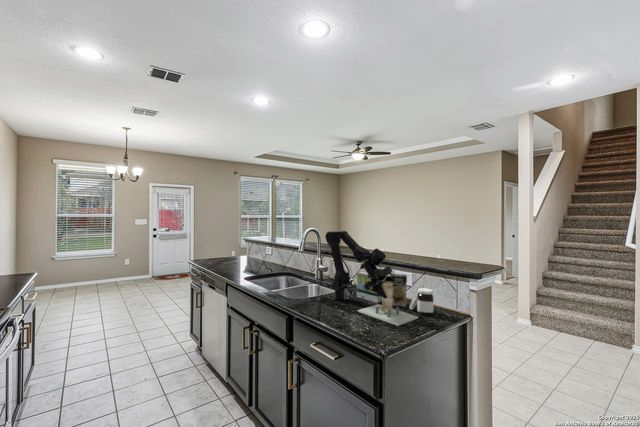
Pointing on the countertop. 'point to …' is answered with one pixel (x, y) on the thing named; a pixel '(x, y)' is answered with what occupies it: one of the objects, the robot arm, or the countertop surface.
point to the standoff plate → (388, 315)
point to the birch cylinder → (387, 302)
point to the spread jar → (423, 302)
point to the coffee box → (399, 290)
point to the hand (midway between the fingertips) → (389, 297)
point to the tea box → (362, 292)
